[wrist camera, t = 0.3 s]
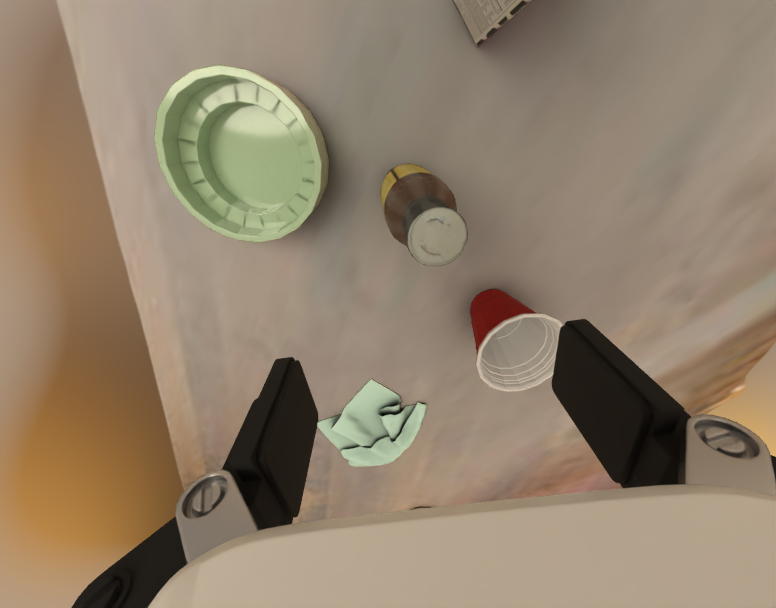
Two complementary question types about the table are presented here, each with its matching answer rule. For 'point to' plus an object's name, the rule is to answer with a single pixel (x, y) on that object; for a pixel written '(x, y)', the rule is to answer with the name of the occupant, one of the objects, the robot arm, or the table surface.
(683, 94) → the table surface
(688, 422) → the robot arm
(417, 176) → the sauce bottle
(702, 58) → the table surface
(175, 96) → the bowl
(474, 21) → the candy bar box
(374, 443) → the cloth
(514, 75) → the table surface
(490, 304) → the plastic cup
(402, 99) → the table surface
